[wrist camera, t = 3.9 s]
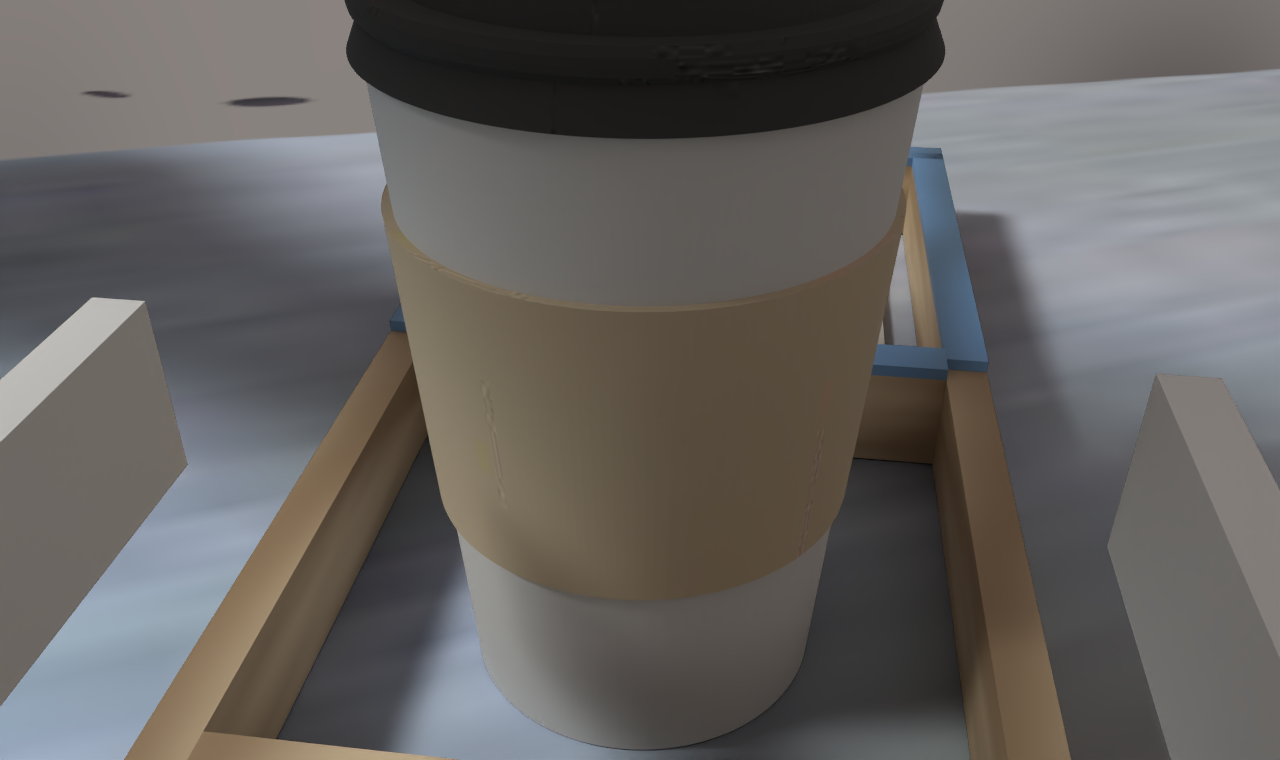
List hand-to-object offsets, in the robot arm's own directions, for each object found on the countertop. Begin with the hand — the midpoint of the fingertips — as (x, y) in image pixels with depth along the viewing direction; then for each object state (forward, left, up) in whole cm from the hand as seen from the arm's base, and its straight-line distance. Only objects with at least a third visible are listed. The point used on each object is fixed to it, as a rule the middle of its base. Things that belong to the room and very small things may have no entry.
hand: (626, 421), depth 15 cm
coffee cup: (0, +5, -9) cm, 11 cm away
